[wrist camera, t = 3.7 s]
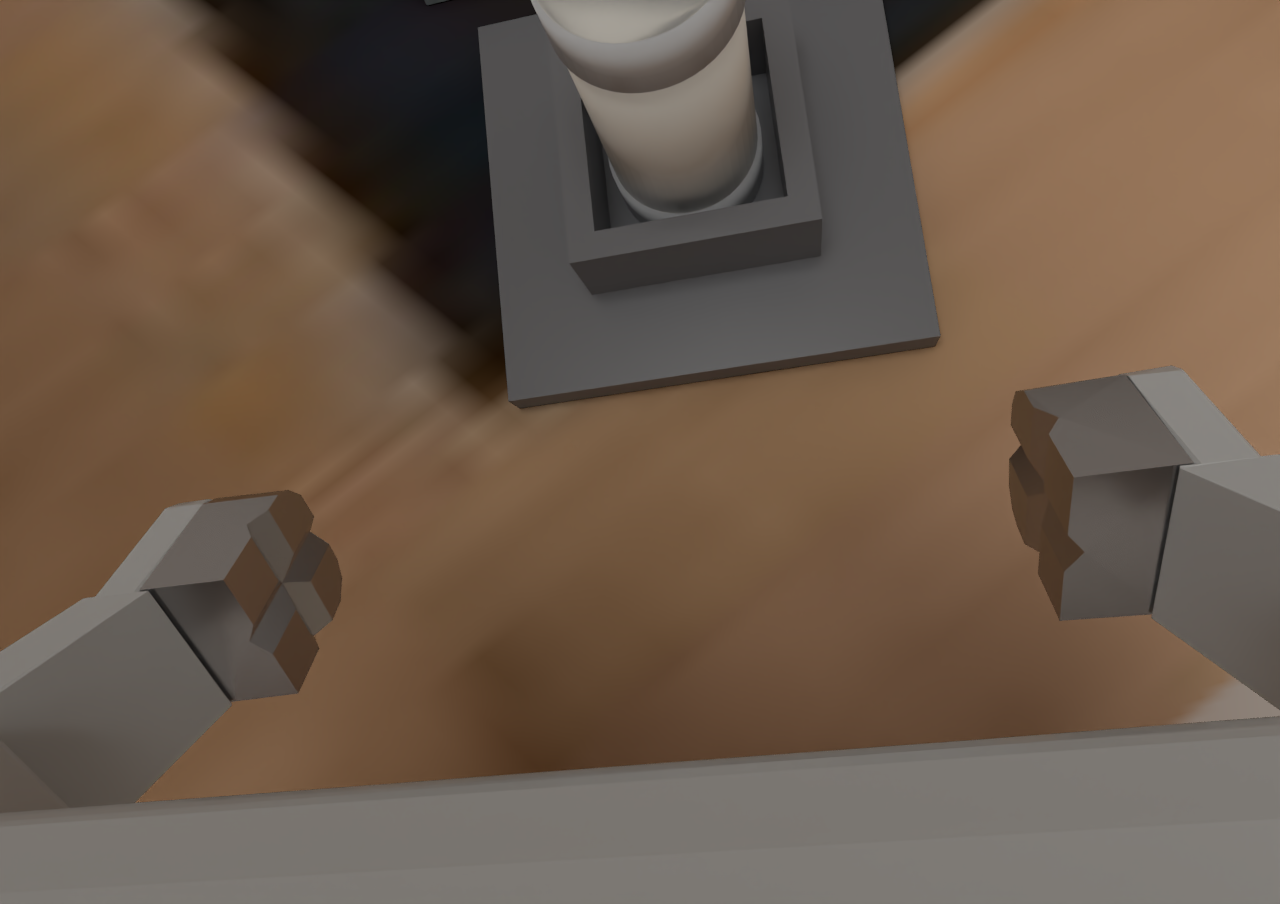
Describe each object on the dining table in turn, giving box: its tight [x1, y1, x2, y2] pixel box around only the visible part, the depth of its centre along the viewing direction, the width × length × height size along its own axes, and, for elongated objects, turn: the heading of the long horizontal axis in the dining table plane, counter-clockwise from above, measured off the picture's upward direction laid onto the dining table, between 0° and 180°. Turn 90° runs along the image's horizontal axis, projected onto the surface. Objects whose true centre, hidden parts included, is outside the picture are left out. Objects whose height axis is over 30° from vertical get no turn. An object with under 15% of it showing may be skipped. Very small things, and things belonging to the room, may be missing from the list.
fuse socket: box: [478, 0, 940, 408], centre depth 24 cm, size 12×12×4 cm
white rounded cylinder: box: [531, 0, 764, 223], centre depth 21 cm, size 4×4×9 cm
